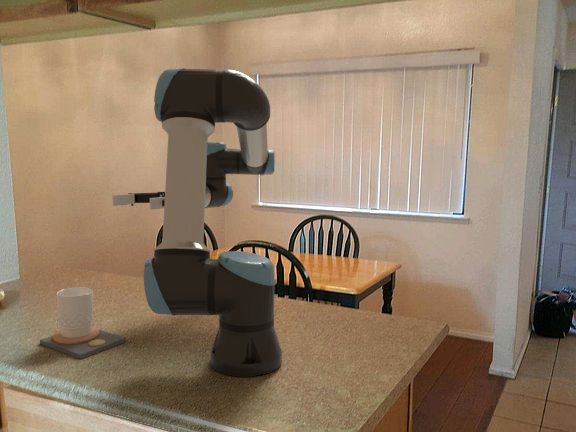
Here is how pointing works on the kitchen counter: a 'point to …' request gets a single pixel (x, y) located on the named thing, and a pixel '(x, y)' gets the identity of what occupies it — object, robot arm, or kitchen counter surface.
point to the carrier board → (83, 343)
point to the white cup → (75, 311)
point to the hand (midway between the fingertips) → (131, 202)
